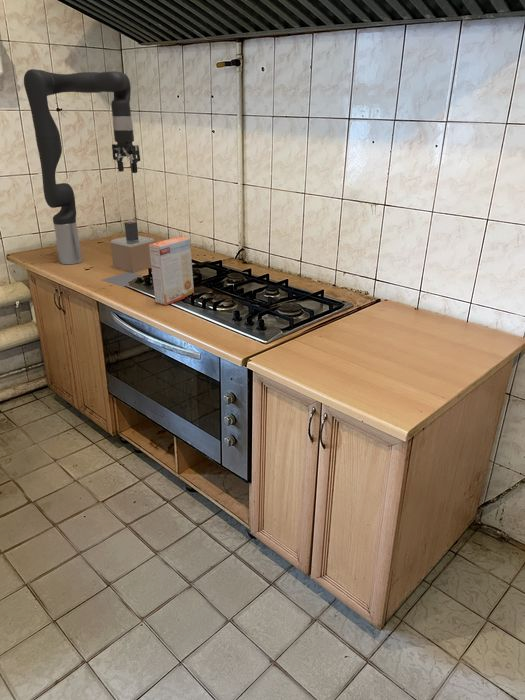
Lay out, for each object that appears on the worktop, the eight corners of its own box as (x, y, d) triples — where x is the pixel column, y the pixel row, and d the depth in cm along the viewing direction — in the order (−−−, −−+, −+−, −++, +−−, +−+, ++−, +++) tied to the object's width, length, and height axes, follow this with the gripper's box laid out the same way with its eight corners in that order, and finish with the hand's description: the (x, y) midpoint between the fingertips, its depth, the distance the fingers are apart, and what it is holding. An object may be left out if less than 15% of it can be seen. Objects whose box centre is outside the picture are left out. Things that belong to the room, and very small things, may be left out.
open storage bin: (113, 268, 225) (110, 242, 220) (137, 261, 234) (135, 236, 230) (133, 273, 218) (130, 247, 213) (157, 266, 227) (155, 241, 222)
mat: (101, 280, 209) (100, 279, 209) (129, 272, 219) (129, 271, 219) (123, 287, 201) (123, 286, 201) (151, 278, 211) (151, 277, 211)
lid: (111, 242, 221) (108, 223, 217) (134, 237, 229) (132, 218, 226) (130, 247, 213) (128, 227, 210) (154, 241, 222) (152, 221, 219)
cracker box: (183, 292, 196) (179, 235, 187) (194, 295, 192) (191, 238, 184) (153, 302, 186) (148, 243, 177) (165, 306, 183) (159, 246, 174)
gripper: (104, 128, 210) (109, 171, 217) (127, 129, 202) (131, 174, 209) (119, 128, 215) (124, 170, 222) (142, 128, 207) (146, 172, 214)
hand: (127, 172), depth 215 cm, fingers open, 8 cm apart
